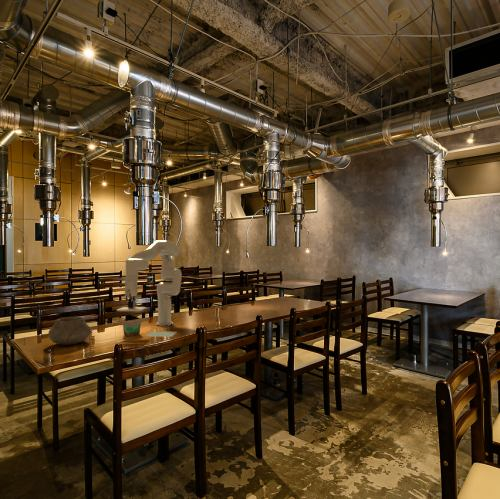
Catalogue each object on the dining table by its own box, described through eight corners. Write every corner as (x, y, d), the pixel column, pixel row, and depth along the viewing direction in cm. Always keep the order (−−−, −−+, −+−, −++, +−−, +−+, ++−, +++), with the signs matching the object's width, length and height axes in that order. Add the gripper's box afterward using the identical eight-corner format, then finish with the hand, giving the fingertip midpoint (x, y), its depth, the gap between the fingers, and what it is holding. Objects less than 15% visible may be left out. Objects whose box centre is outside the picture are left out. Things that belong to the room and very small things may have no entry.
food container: (120, 338, 206) (120, 322, 206) (121, 336, 212) (121, 320, 212) (141, 337, 209) (141, 321, 209) (141, 335, 215) (141, 319, 215)
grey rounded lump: (80, 337, 210) (81, 313, 210) (96, 343, 196) (97, 317, 196) (42, 344, 193) (42, 319, 193) (57, 351, 179) (57, 323, 180)
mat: (152, 332, 222) (152, 331, 222) (177, 332, 221) (177, 331, 221) (145, 337, 209) (145, 336, 209) (171, 337, 208) (171, 336, 208)
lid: (123, 308, 216) (123, 299, 216) (146, 308, 215) (146, 299, 216) (116, 311, 206) (116, 301, 206) (140, 311, 205) (140, 301, 206)
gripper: (131, 277, 219) (130, 305, 219) (120, 279, 203) (120, 309, 203) (142, 277, 219) (142, 305, 219) (132, 279, 203) (132, 309, 202)
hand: (131, 306), depth 211 cm, fingers closed on lid, 3 cm apart
